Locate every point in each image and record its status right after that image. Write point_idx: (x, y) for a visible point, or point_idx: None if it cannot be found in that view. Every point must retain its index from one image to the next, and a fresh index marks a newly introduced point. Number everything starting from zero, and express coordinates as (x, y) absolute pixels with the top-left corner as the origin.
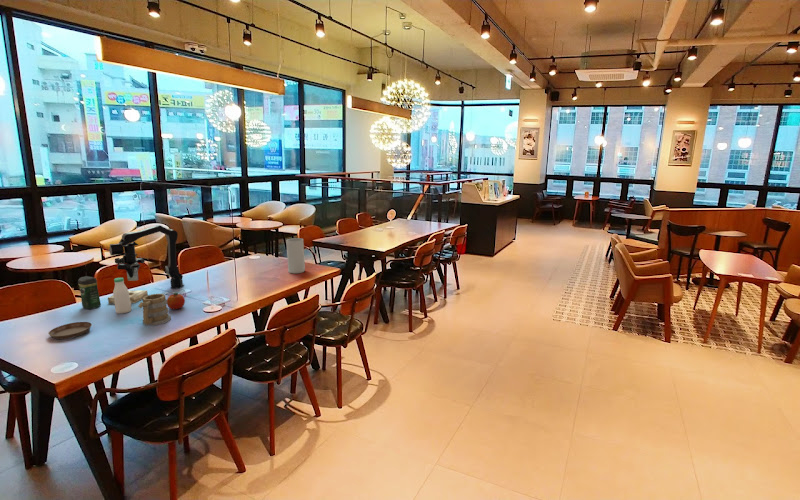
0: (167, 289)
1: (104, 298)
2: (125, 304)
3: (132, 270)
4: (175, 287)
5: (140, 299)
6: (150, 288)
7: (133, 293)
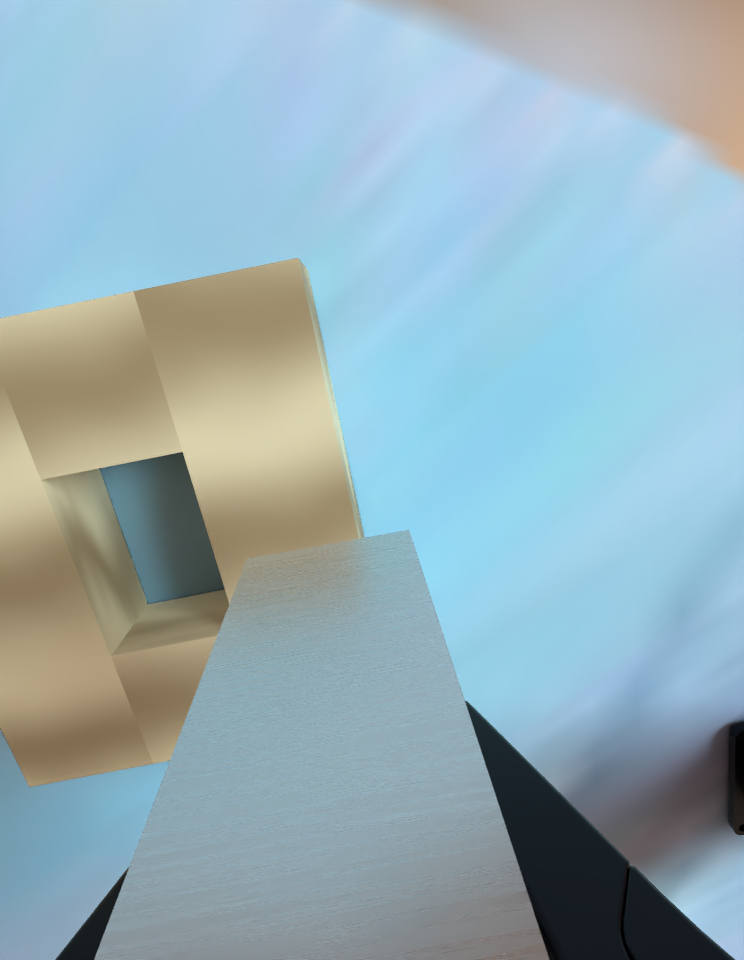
0: (678, 716)
1: (80, 3)
2: None
3: None
4: (736, 789)
5: None
6: (732, 443)
7: (231, 594)
